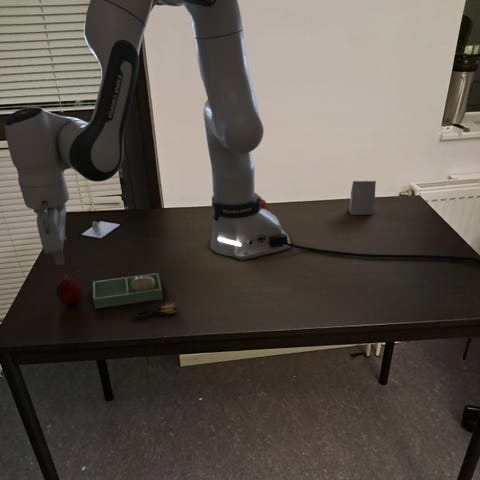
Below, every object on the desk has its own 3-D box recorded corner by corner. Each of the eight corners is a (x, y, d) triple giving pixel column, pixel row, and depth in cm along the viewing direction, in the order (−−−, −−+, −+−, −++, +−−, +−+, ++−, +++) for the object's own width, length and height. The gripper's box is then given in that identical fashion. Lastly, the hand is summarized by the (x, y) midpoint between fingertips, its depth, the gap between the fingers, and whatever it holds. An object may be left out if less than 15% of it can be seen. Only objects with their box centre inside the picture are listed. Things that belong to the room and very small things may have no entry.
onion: (78, 313, 118) (71, 283, 114) (55, 311, 119) (47, 281, 115) (89, 299, 123) (83, 270, 118) (67, 297, 124) (60, 268, 119)
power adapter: (91, 231, 154) (89, 222, 152) (96, 228, 156) (94, 218, 154) (100, 233, 153) (98, 223, 151) (105, 229, 155) (103, 220, 153)
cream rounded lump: (155, 286, 127) (153, 271, 124) (157, 294, 124) (155, 279, 121) (131, 289, 126) (128, 274, 123) (132, 298, 122) (129, 283, 120)
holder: (159, 282, 129) (158, 272, 127) (163, 299, 122) (161, 289, 121) (95, 291, 126) (92, 281, 124) (95, 309, 120) (92, 299, 118)
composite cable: (135, 321, 115) (133, 312, 114) (136, 309, 119) (135, 300, 118) (179, 317, 116) (178, 308, 115) (179, 306, 120) (178, 297, 118)
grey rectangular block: (372, 214, 159) (376, 183, 154) (350, 214, 160) (354, 183, 154) (370, 209, 162) (374, 179, 157) (349, 209, 163) (352, 179, 157)
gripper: (59, 211, 97) (75, 273, 105) (63, 175, 114) (77, 231, 122) (24, 215, 96) (43, 278, 104) (33, 178, 112) (49, 235, 121)
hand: (61, 253), depth 113 cm, fingers open, 8 cm apart
